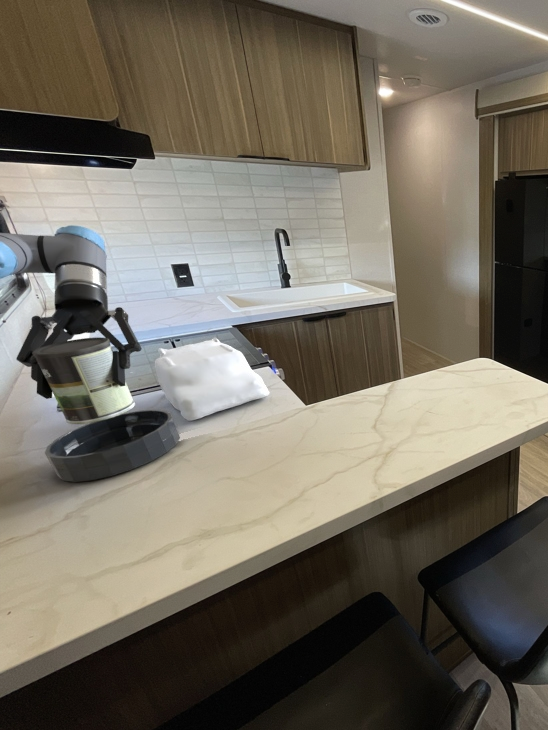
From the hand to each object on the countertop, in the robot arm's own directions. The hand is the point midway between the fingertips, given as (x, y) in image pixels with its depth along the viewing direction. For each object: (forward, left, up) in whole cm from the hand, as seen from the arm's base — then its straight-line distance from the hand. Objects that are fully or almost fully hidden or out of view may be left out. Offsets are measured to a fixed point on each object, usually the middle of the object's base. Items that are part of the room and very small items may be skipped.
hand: (83, 389), depth 75 cm
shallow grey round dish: (-1, +3, -16) cm, 16 cm away
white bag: (+3, +31, -16) cm, 35 cm away
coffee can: (-1, +3, -6) cm, 7 cm away
